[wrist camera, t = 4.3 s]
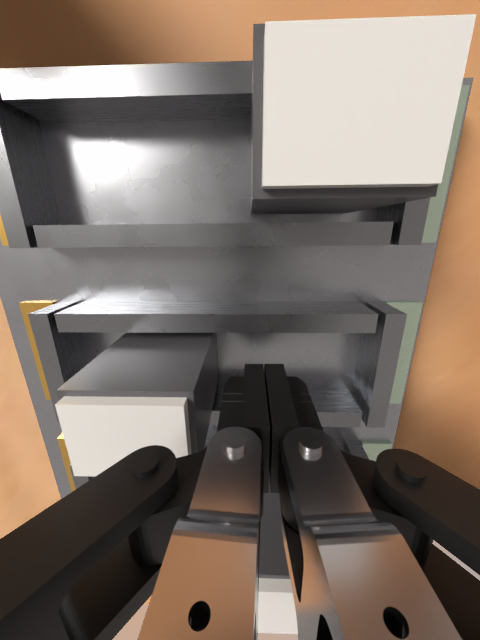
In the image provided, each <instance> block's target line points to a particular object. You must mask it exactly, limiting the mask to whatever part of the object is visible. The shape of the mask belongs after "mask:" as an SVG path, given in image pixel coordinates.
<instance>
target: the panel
mask: <svg viewBox="0 0 480 640" xmlns="http://www.w3.org/2000/svg"><path fill="white" fill-rule="evenodd" d="M252 69H253V61H231V62H198V63H165V64H131V65H98V66H64V67H31V68H0V297H1V300H2V303H3V307H4V310H5V313H6V317H7V320H8V323H9V326H10V330H11V333H12V336H13V340H14V343H15V346H16V350H17V353H18V356H19V360H20V363H21V366H22V370H23V373H24V376H25V379H26V383H27V386H28V389H29V393H30V396H31V399H32V403H33V406H34V409H35V413H36V416H37V419H38V423H39V426H40V429H41V432H42V436H43V439H44V442H45V446H46V449H47V452H48V456H49V459H50V462H51V466H52V469H53V472H54V476H55V479H56V482H57V485H58V489H59V492H60V495H61V499H62V498H64V497H65V496H67V495H68V494H70V493H71V492H73V491H74V490H76V489H77V488H79V487H80V486H82V485H83V484H85V483H86V482H88V481H90V480H91V479H93V478H94V477H95V476H74V473H73V470H72V466H71V462H70V459H69V455H68V451H67V447H66V444H65V440H64V436H63V433H62V429H61V425H60V422H59V418H58V414H57V411H56V407H55V404H56V403H57V402H58V401H59V399H58V395H57V392H56V390H57V389H58V388H59V387H61V386H62V385H63V384H64V383H65V382H67V381H68V380H69V379H70V378H72V377H73V376H74V375H75V374H76V373H78V372H79V371H80V370H81V369H82V368H84V367H85V366H86V365H87V364H89V363H90V362H91V361H92V360H93V359H95V358H96V357H97V356H98V355H99V354H101V353H102V352H103V351H104V350H106V349H107V348H108V347H109V346H110V345H112V344H113V343H114V342H115V341H116V340H118V339H119V338H120V337H121V336H123V335H124V334H125V333H126V332H127V333H216V341H217V366H218V384H217V389H216V393H215V398H214V403H213V408H212V413H211V418H210V423H209V428H208V433H207V437H206V442H205V447H204V448H206V447H207V446H208V443H209V441H210V439H211V437H212V436H213V435H214V434H215V433H216V432H217V427H218V420H219V414H220V408H221V402H222V396H223V389H224V384H225V383H226V382H227V381H228V379H229V378H230V377H244V369H245V364H263V367H264V364H284V368H285V372H286V376H287V377H299V378H300V379H301V380H302V381H303V382H304V383H305V384H306V385H307V388H308V391H309V395H310V396H311V399H312V403H313V404H314V407H315V409H316V412H317V415H318V417H319V420H320V423H321V426H322V428H323V431H324V432H325V433H327V434H328V435H329V436H331V437H332V438H333V439H334V441H335V442H336V443H337V445H338V447H339V449H340V450H342V451H344V452H346V453H348V454H351V455H354V456H357V457H361V458H365V459H369V460H373V461H376V459H377V456H378V455H379V453H381V452H382V451H384V450H387V449H393V444H394V440H395V435H396V431H397V426H398V421H399V417H400V412H401V408H402V403H403V398H404V394H405V389H406V385H407V380H408V375H409V371H410V366H411V362H412V357H413V353H414V348H415V343H416V339H417V334H418V330H419V325H420V320H421V316H422V311H423V307H424V302H425V297H426V293H427V288H428V284H429V279H430V274H431V270H432V265H433V261H434V256H435V252H436V247H437V242H438V238H439V233H440V229H441V224H442V219H443V215H444V210H445V206H446V201H447V196H448V192H449V187H450V183H451V178H452V174H453V169H454V164H455V160H456V155H457V151H458V146H459V141H460V137H461V132H462V128H463V123H464V118H465V114H466V109H467V105H468V100H469V95H470V91H471V86H472V82H473V78H463V81H462V86H461V91H460V96H459V100H458V105H457V110H456V115H455V120H454V125H453V129H452V134H451V139H450V144H449V149H448V153H447V158H446V163H445V168H444V173H443V177H442V182H441V184H438V189H437V194H436V197H431V198H426V199H420V200H415V201H409V202H404V203H399V204H393V205H388V206H383V207H377V208H372V209H367V210H361V211H356V212H351V213H319V214H251V110H252ZM269 482H270V478H269Z"/></svg>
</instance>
